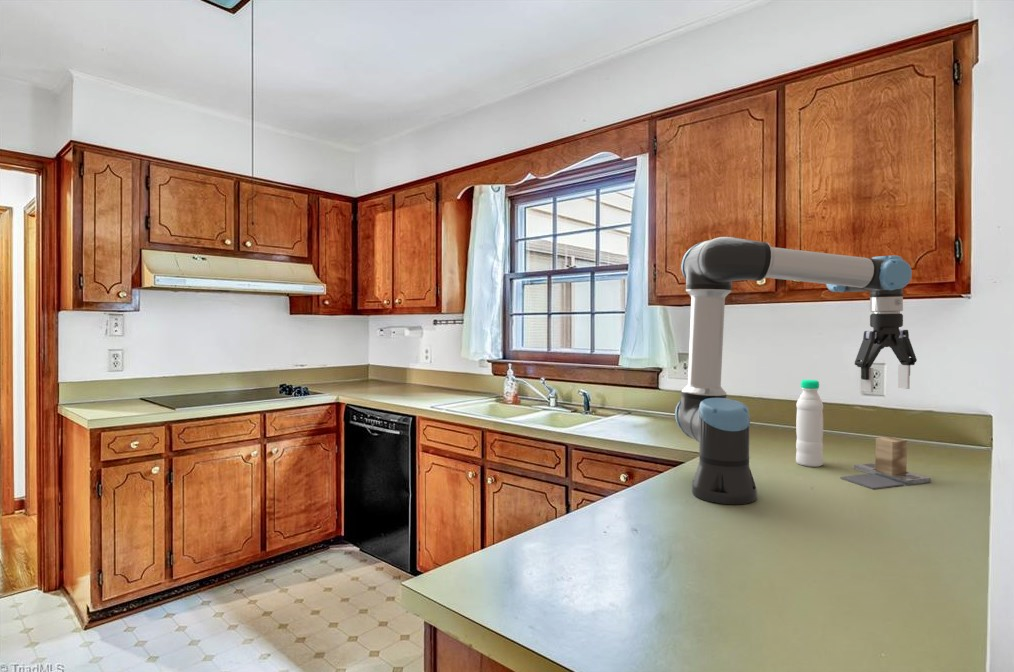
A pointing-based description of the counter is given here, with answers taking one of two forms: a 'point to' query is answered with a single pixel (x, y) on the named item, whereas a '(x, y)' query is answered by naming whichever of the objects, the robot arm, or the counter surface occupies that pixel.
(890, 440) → the peg
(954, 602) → the counter surface
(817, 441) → the white bottle
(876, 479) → the mat
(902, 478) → the plate with rectangular hole
